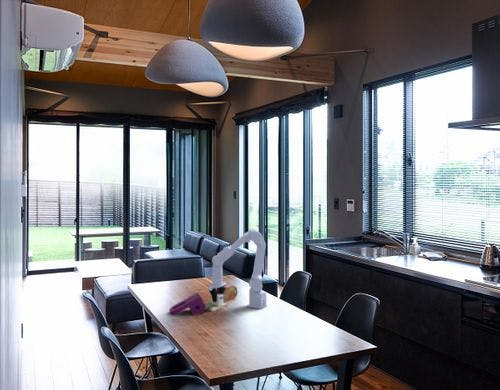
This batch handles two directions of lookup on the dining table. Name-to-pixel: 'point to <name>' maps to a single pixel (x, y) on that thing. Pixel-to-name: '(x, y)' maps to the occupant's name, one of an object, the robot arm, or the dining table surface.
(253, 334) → the dining table surface
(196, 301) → the mounting bracket
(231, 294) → the tin
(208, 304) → the rail
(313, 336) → the dining table surface
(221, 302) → the white block
